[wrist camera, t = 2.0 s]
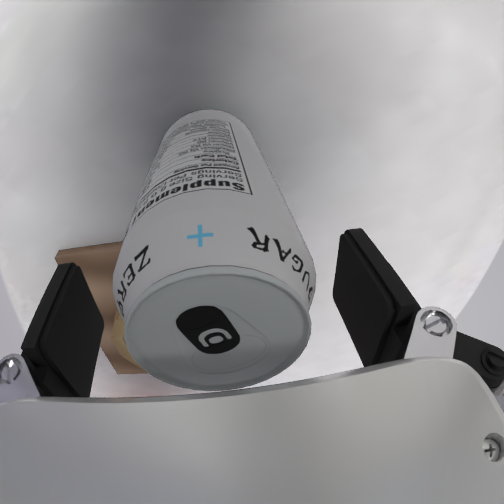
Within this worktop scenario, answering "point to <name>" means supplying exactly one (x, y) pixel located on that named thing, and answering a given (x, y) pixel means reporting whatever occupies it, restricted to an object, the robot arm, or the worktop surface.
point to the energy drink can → (213, 263)
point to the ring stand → (104, 299)
